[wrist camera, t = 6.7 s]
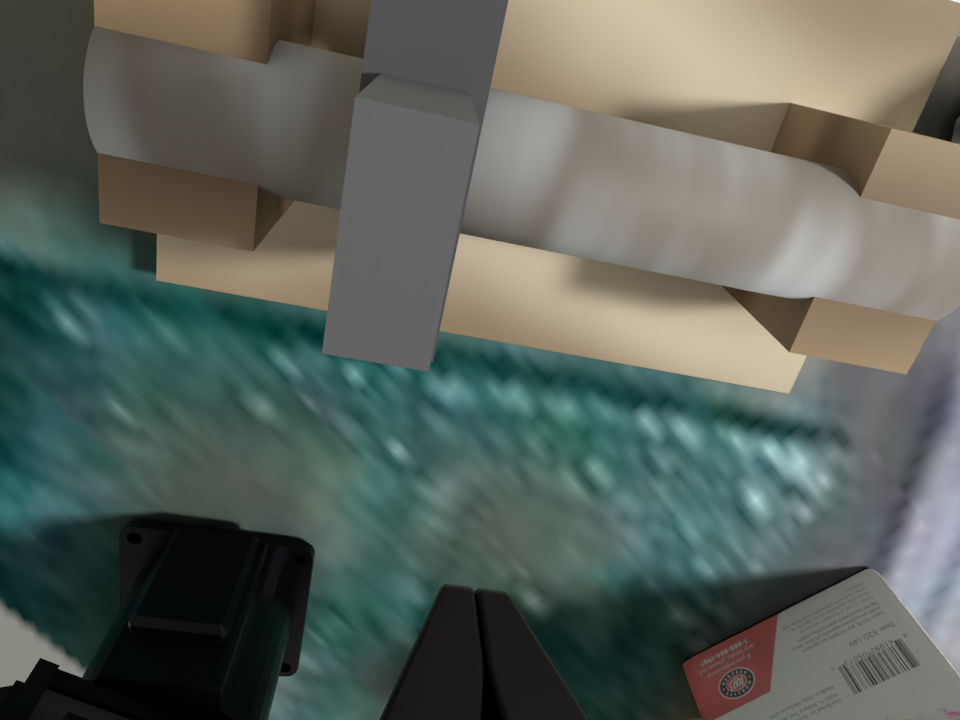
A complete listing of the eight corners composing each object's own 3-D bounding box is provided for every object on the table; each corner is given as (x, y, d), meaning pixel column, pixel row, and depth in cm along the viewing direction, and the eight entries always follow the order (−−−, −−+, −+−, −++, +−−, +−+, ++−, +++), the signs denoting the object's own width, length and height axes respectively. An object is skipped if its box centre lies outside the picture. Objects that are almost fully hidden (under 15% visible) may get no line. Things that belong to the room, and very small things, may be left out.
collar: (436, 256, 19) (429, 472, 10) (363, 241, 18) (286, 451, 10) (488, -4, 16) (541, -29, 7) (402, -26, 16) (347, -78, 7)
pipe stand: (775, 378, 22) (881, 494, 17) (169, 268, 20) (64, 364, 14) (944, 6, 18) (1167, 3, 12) (179, -200, 15) (28, -321, 10)
